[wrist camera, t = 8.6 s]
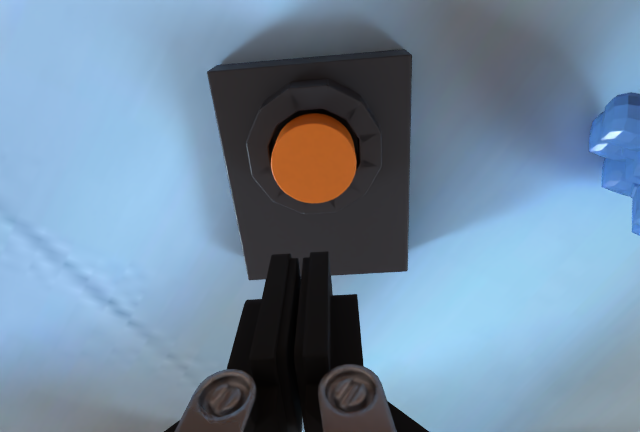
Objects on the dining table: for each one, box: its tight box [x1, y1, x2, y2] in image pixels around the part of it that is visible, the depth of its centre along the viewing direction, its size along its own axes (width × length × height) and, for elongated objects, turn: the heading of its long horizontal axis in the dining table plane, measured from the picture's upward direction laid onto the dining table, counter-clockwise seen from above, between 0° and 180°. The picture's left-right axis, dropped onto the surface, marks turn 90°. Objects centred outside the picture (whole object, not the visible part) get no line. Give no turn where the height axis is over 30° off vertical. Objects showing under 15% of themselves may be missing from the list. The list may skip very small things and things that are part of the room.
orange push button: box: [271, 113, 357, 203], centre depth 22 cm, size 4×4×2 cm
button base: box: [207, 49, 412, 280], centre depth 26 cm, size 14×11×4 cm
